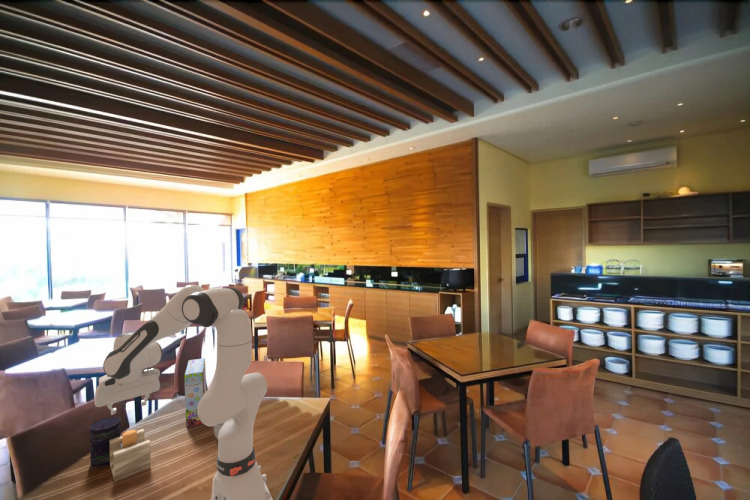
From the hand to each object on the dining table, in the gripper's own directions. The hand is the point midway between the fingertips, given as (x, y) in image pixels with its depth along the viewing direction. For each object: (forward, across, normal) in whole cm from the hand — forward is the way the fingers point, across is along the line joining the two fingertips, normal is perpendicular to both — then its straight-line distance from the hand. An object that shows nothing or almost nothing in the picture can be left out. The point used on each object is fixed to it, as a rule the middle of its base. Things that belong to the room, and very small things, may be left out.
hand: (129, 409), depth 127 cm
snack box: (+22, -30, -23) cm, 44 cm away
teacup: (+23, -35, +6) cm, 43 cm away
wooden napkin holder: (+22, 0, 0) cm, 22 cm away
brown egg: (+14, 0, 0) cm, 14 cm away
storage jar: (+22, +6, -12) cm, 26 cm away
